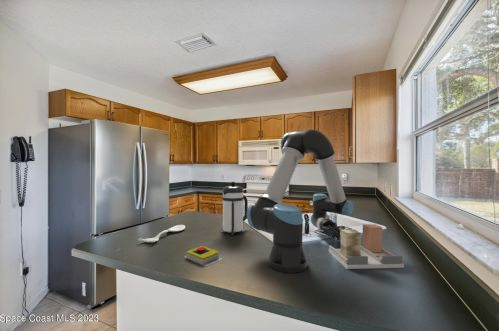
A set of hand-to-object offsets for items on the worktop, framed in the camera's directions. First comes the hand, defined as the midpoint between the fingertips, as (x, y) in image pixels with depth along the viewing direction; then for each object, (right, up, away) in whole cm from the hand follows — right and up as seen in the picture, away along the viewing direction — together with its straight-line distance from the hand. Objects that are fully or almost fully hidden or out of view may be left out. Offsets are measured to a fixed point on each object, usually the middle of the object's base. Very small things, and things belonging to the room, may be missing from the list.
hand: (348, 240), depth 96 cm
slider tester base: (+6, -8, 0) cm, 10 cm away
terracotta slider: (+13, -6, +5) cm, 15 cm away
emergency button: (-62, -8, +1) cm, 63 cm away
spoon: (-89, -8, +31) cm, 95 cm away
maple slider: (-1, -6, -3) cm, 7 cm away
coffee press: (-52, -8, +39) cm, 65 cm away
